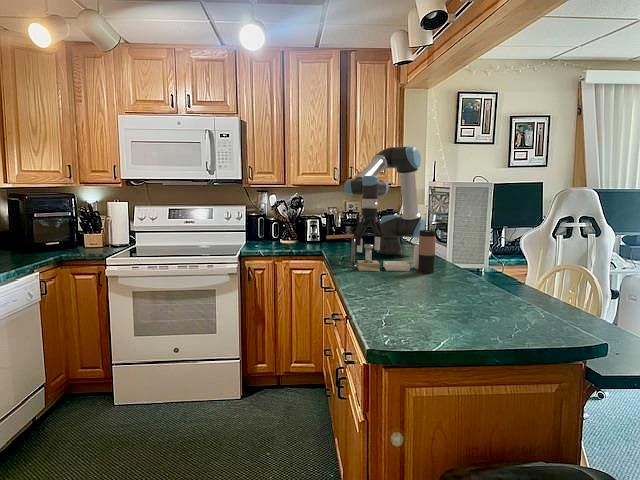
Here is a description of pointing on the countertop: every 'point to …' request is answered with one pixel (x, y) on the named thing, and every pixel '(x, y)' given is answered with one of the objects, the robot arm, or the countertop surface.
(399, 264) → the tray
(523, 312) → the countertop surface
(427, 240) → the travel mug
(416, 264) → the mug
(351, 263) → the keeper post
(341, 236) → the bar
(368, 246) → the pin
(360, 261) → the block
